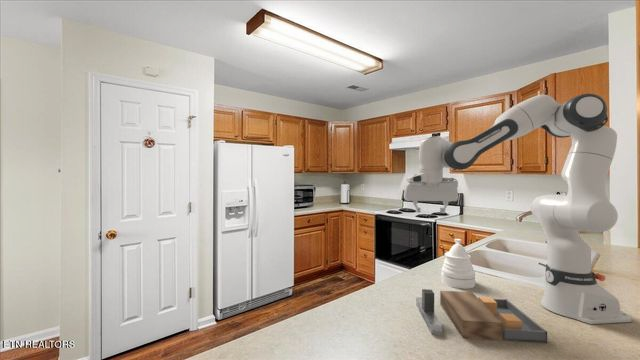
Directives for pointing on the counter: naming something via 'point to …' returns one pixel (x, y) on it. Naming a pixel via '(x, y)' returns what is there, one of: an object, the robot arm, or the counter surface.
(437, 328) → the grey stick with cube
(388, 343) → the counter surface
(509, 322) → the block
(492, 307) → the block
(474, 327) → the ledge
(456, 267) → the honey pot
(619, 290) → the counter surface
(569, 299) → the robot arm
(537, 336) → the tray
